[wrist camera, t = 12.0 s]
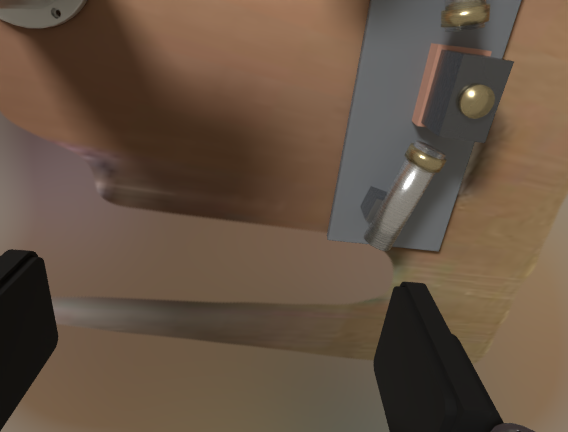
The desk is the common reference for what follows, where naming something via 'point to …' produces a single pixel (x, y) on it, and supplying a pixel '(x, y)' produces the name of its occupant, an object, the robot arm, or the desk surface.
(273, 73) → the desk surface
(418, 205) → the base plate
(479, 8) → the shaft
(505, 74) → the block
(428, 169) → the shaft
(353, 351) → the desk surface
